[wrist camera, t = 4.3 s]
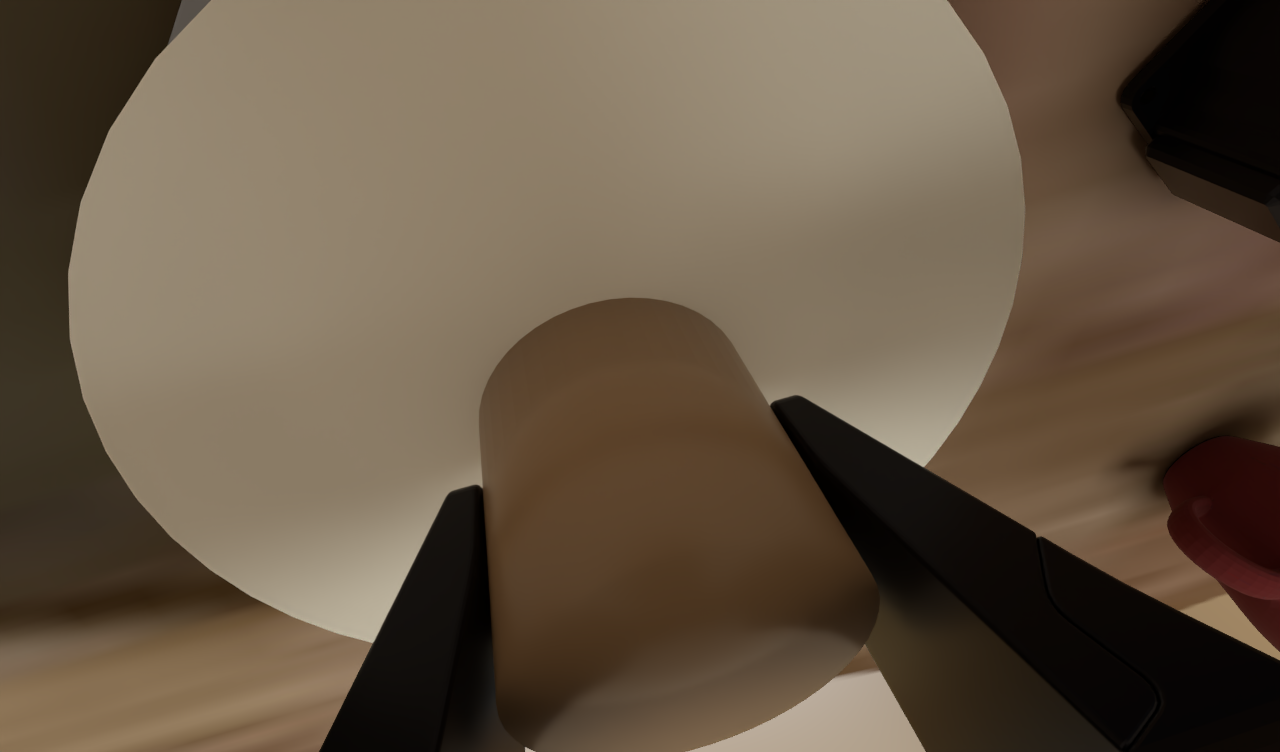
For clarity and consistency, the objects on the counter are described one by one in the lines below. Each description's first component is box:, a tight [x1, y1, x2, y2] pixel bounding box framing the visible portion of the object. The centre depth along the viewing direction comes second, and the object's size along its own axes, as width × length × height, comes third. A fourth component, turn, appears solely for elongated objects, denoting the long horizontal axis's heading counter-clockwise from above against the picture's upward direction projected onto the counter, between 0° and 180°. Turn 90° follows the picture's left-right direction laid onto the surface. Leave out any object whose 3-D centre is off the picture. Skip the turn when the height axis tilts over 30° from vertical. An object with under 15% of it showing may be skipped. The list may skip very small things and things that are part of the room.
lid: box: [68, 0, 1025, 752], centre depth 8 cm, size 13×13×5 cm
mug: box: [1163, 436, 1280, 652], centre depth 30 cm, size 11×8×10 cm
